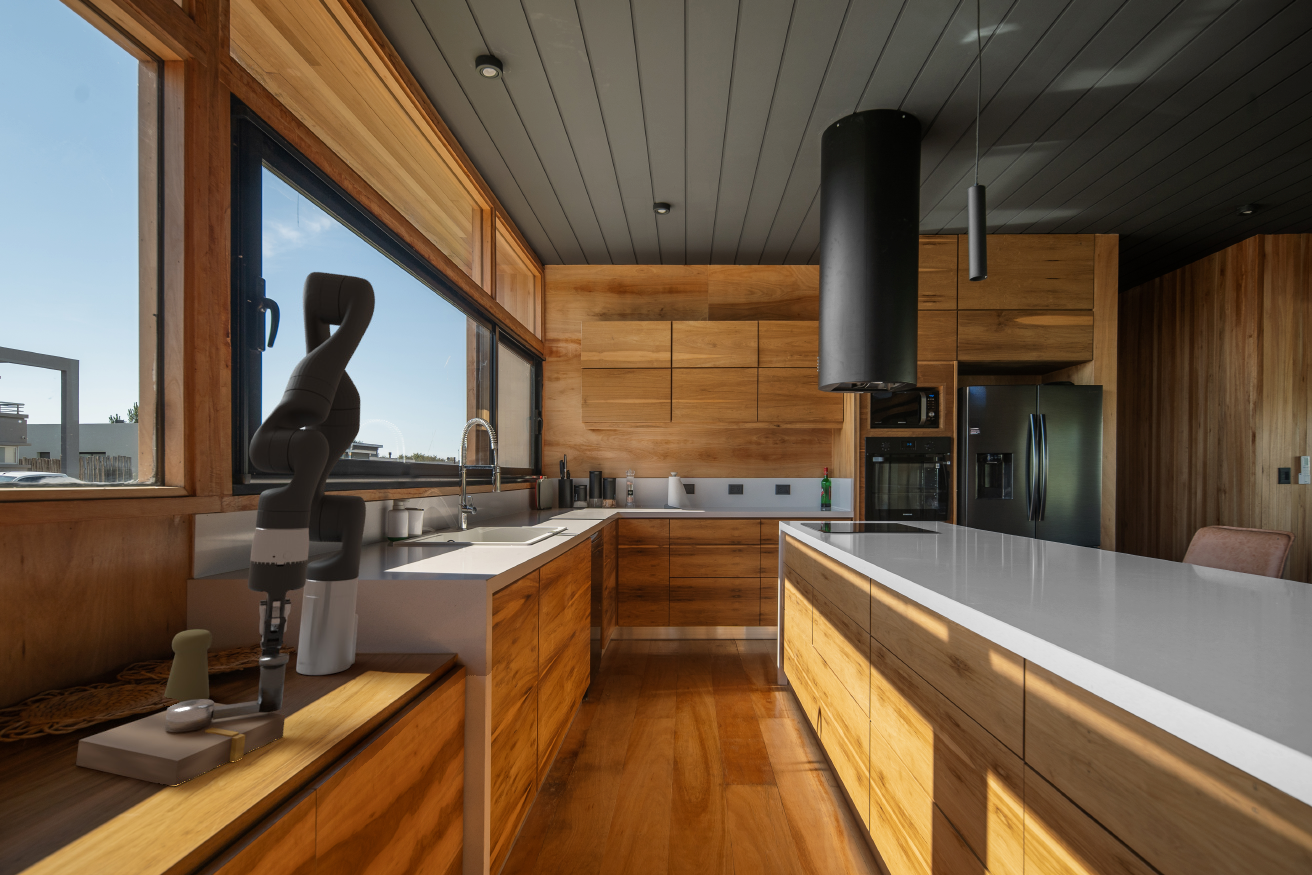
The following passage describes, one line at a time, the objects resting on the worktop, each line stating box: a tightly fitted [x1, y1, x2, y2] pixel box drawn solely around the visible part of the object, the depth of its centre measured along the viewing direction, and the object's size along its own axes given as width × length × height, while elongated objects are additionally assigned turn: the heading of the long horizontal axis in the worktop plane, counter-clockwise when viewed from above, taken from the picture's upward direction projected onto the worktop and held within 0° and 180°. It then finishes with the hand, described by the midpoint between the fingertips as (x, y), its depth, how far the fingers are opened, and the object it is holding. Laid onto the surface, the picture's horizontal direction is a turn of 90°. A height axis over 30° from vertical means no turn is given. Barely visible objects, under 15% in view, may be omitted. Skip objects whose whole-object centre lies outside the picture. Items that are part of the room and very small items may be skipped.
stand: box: [75, 702, 286, 785], centre depth 79 cm, size 15×17×3 cm
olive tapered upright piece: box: [163, 628, 213, 703], centre depth 97 cm, size 6×6×11 cm
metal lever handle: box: [165, 652, 290, 732], centre depth 82 cm, size 13×5×8 cm, turn 126°
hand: (268, 672), depth 90 cm, fingers closed
